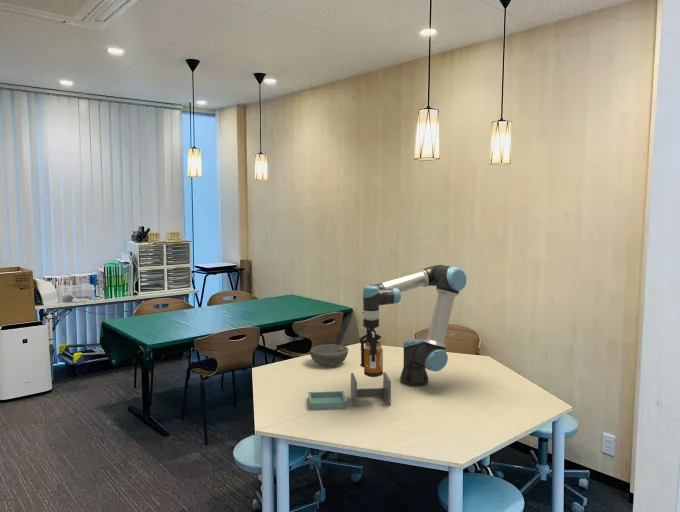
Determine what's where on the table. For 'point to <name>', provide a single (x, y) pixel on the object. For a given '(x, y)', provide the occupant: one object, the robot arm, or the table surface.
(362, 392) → the dock
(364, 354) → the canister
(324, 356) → the bowl
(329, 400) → the tray
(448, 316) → the robot arm
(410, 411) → the table surface
